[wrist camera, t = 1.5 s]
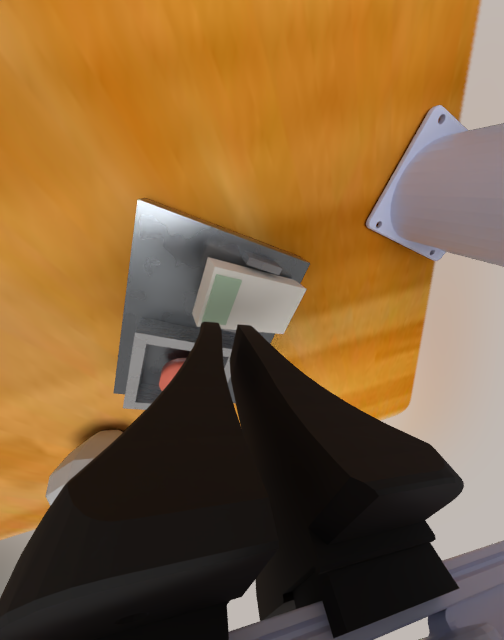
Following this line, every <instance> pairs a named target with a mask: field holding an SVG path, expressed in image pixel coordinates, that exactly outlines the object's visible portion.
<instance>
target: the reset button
mask: <svg viewBox="0 0 504 640" xmlns="http://www.w3.org/2000/svg"><path fill="white" fill-rule="evenodd" d="M185 360H186V358H177V359H173V360H171V361H169V362H167V363H166V364H165V365H164V366H163V368H162V371H161V376H160V381H159V387H160V389H161V391H163V390H164V389H165V388H166V386H167V385H168V384H169V383H170V381H171V380H172V379H173V377H174V376H175V375H176V373H177V372H178V371H179V369H180V368H181V366H182V365H183V363H184V362H185Z"/></svg>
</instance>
